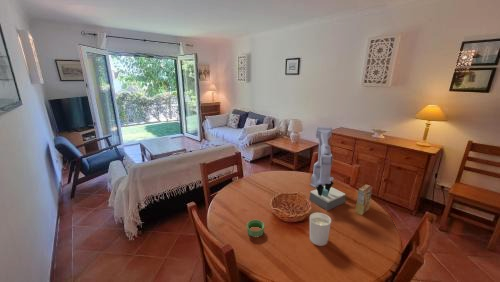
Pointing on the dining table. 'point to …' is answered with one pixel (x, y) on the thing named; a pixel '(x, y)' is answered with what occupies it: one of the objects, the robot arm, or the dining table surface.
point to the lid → (329, 194)
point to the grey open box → (324, 204)
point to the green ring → (255, 224)
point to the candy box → (363, 199)
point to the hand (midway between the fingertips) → (323, 193)
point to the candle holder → (319, 228)
